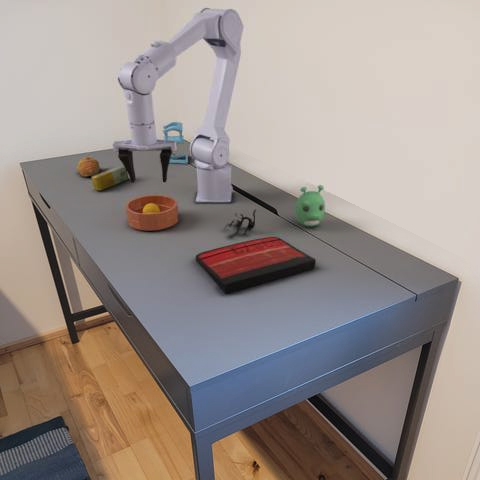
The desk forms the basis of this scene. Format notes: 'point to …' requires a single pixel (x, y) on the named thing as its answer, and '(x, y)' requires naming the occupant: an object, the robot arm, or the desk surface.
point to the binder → (253, 263)
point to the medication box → (110, 178)
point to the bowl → (152, 220)
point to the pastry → (88, 167)
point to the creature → (250, 225)
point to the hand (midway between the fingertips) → (149, 181)
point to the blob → (151, 208)
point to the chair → (179, 140)
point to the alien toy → (310, 207)
